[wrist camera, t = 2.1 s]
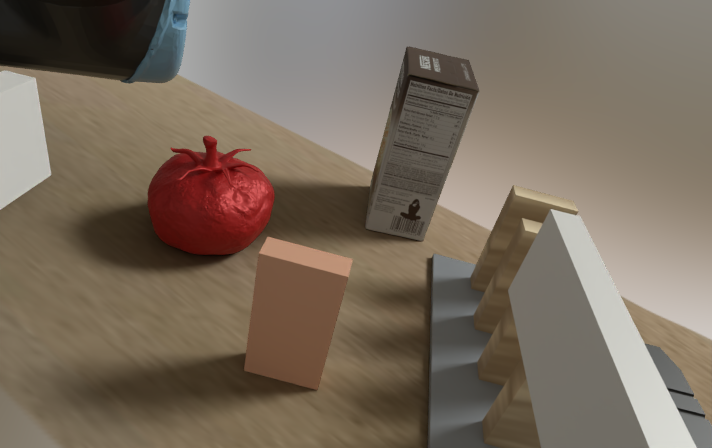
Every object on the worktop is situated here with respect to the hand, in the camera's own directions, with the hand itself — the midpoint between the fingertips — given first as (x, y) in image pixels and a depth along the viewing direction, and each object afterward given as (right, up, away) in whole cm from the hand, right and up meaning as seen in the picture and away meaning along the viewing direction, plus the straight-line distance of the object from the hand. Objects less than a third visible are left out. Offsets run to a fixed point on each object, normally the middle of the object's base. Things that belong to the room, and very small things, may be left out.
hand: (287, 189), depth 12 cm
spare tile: (-3, -11, +20) cm, 23 cm away
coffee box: (+6, 0, +39) cm, 40 cm away
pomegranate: (-11, -2, +30) cm, 32 cm away
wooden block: (+15, -7, +31) cm, 35 cm away
